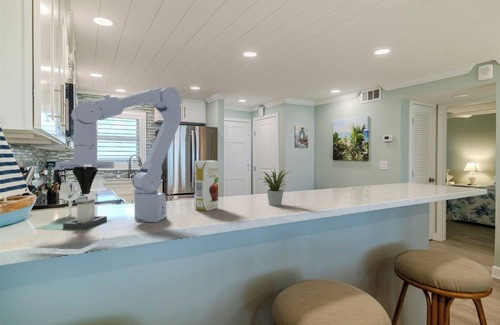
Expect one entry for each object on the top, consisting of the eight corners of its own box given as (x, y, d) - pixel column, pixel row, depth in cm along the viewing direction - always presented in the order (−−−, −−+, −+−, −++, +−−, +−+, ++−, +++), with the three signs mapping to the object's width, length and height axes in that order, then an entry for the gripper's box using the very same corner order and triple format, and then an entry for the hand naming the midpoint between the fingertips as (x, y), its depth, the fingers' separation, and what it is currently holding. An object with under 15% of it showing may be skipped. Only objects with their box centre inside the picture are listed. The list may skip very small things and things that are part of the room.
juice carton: (191, 209, 109) (191, 160, 108) (205, 206, 116) (205, 160, 116) (207, 211, 105) (207, 160, 105) (220, 208, 113) (220, 160, 112)
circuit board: (112, 223, 87) (112, 215, 87) (86, 233, 75) (86, 224, 75) (67, 222, 88) (66, 214, 88) (34, 232, 76) (34, 223, 76)
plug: (89, 226, 79) (88, 201, 79) (77, 226, 78) (77, 201, 78) (95, 222, 84) (95, 198, 84) (84, 222, 83) (84, 198, 83)
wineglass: (62, 216, 96) (62, 181, 96) (82, 215, 98) (81, 180, 98) (57, 220, 91) (57, 182, 90) (78, 218, 93) (78, 182, 92)
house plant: (293, 202, 127) (294, 166, 127) (295, 207, 113) (296, 167, 113) (262, 201, 129) (262, 165, 128) (260, 207, 115) (260, 167, 114)
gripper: (116, 146, 85) (117, 191, 86) (63, 146, 83) (64, 192, 83) (109, 146, 79) (110, 194, 79) (51, 145, 76) (52, 195, 76)
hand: (85, 193), depth 80 cm, fingers closed
